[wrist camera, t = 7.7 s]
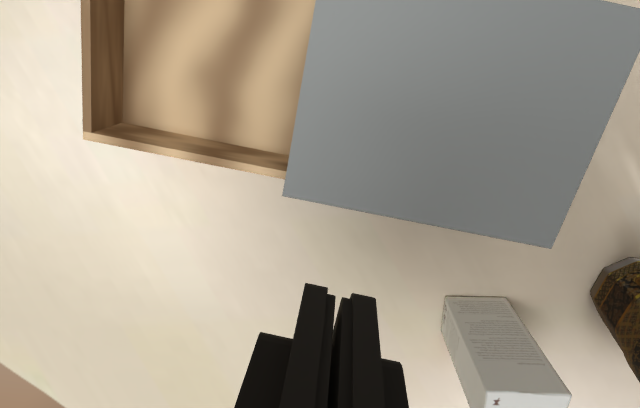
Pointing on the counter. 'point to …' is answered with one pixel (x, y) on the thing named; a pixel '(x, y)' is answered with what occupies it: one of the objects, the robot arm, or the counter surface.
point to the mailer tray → (196, 78)
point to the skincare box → (498, 356)
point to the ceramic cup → (621, 306)
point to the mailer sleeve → (458, 109)
